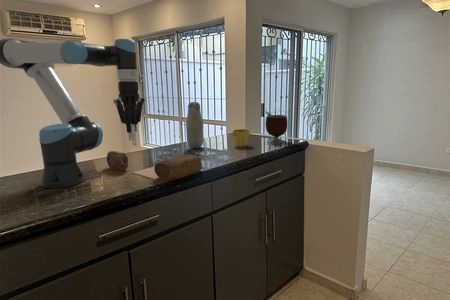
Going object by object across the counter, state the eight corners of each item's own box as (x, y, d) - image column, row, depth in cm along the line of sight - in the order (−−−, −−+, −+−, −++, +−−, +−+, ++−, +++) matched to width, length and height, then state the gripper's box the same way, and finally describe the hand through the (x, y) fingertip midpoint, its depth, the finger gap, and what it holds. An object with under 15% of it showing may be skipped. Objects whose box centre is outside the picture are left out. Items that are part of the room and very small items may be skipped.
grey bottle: (184, 149, 183) (181, 102, 177) (192, 146, 192) (190, 101, 186) (199, 150, 179) (196, 102, 173) (206, 146, 188) (204, 101, 182)
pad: (155, 179, 123) (155, 179, 123) (132, 172, 134) (132, 172, 134) (191, 168, 138) (191, 168, 138) (167, 163, 149) (167, 163, 149)
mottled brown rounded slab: (107, 167, 145) (105, 150, 144) (113, 166, 148) (111, 149, 146) (124, 172, 136) (122, 154, 134) (130, 170, 138) (128, 152, 136)
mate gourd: (290, 141, 198) (291, 110, 194) (280, 144, 188) (281, 112, 184) (270, 139, 208) (270, 110, 204) (259, 142, 197) (259, 111, 193)
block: (171, 182, 119) (204, 171, 135) (171, 164, 117) (203, 154, 133) (153, 177, 125) (186, 167, 141) (152, 160, 123) (185, 151, 139)
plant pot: (250, 147, 184) (250, 131, 182) (233, 147, 184) (232, 131, 182) (249, 143, 194) (248, 128, 192) (232, 144, 194) (232, 129, 192)
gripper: (118, 80, 111) (123, 143, 116) (147, 80, 121) (151, 138, 126) (107, 81, 116) (112, 141, 121) (136, 81, 126) (140, 137, 131)
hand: (132, 140), depth 123 cm, fingers closed
